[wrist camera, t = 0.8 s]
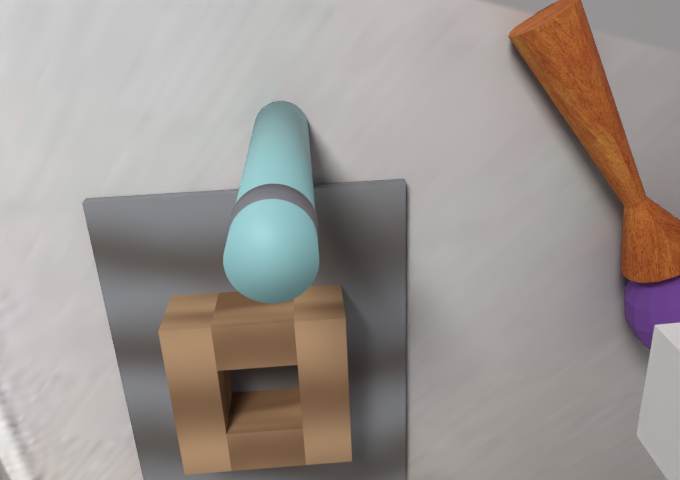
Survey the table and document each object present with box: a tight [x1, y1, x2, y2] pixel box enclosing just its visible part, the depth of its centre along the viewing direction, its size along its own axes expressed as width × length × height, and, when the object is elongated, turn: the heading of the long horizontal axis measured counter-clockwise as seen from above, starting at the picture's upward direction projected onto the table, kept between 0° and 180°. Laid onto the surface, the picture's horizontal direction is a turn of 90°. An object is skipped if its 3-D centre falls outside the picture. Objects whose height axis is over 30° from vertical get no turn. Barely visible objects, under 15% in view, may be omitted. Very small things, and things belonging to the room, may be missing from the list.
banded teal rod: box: [223, 101, 319, 303], centre depth 24 cm, size 3×3×15 cm
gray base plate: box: [82, 179, 406, 480], centre depth 34 cm, size 20×16×4 cm
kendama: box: [508, 0, 680, 349], centre depth 31 cm, size 6×6×20 cm
